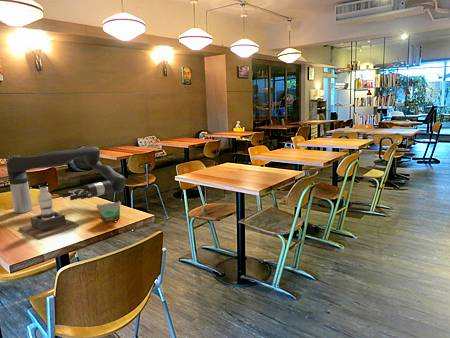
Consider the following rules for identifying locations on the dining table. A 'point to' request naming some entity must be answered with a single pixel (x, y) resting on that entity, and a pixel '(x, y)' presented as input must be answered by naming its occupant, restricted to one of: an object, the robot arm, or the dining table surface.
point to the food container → (109, 212)
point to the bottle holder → (48, 226)
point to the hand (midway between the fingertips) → (66, 197)
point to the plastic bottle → (45, 204)
